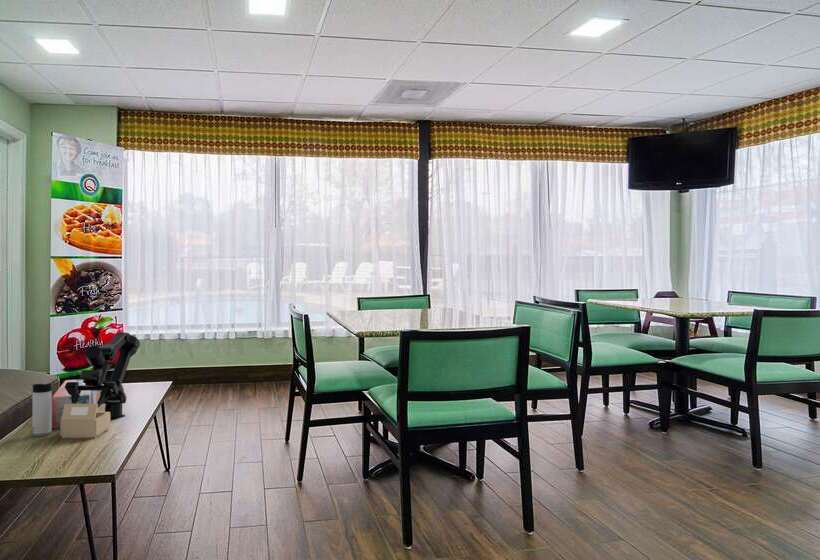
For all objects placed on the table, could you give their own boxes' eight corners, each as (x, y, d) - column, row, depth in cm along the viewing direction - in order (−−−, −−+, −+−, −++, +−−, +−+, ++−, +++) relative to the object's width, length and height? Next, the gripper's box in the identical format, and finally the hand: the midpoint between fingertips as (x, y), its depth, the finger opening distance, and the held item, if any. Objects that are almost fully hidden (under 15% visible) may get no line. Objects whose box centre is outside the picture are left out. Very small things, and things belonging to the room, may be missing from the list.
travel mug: (29, 437, 225) (29, 384, 224) (35, 432, 231) (35, 381, 230) (48, 436, 226) (48, 383, 226) (53, 431, 233) (53, 380, 232)
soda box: (90, 426, 242) (90, 394, 242) (50, 429, 236) (50, 397, 236) (98, 404, 279) (98, 377, 279) (64, 407, 274) (64, 379, 273)
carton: (76, 429, 236) (76, 411, 236) (110, 429, 237) (110, 411, 237) (60, 438, 224) (60, 419, 224) (96, 438, 225) (96, 419, 224)
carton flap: (65, 404, 226) (64, 403, 225) (98, 403, 227) (97, 403, 226) (61, 419, 224) (61, 419, 223) (94, 419, 224) (94, 419, 224)
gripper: (66, 361, 233) (51, 395, 222) (116, 361, 235) (103, 395, 224) (76, 377, 241) (62, 411, 230) (124, 377, 243) (112, 411, 232)
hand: (84, 407), depth 229 cm, fingers open, 9 cm apart
